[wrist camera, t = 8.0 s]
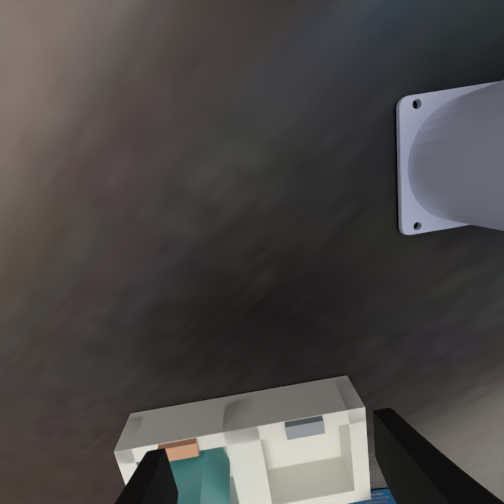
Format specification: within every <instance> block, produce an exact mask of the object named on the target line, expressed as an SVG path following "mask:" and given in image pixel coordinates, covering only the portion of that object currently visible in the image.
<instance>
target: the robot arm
mask: <svg viewBox="0 0 504 504" xmlns="http://www.w3.org/2000/svg"><path fill="white" fill-rule="evenodd" d="M413 101H416V102H417V108H416V109H414V108H413V105H412V104H413ZM396 124H397V169H398V214H399V231H400V232H401V233H403V234H405V235H413V234H419V233H425V232H431V231H437V230H443V229H448V228H454V227H460V226H466V225H476V226H481V227H486V228H491V229H496V230H501V231H504V80H502V81H499V82H492V83H486V84H480V85H473V86H467V87H461V88H454V89H448V90H442V91H435V92H429V93H423V94H416V95H410V96H406V97H404V98H402V99H400V100H399V101H398V103H397V106H396ZM416 222H417V223H418V226H417V227H416V228H415V229H414V227H413V226H414V224H415V223H416ZM373 423H374V441H375V457H376V459H377V462H378V464H379V467H380V469H381V471H382V474H383V476H384V479H385V481H386V483H387V485H388V488H389V490H390V492H391V494H392V496H393V498H394V500H395V502H396V504H504V502H502V501H501V500H500V499H498V498H497V497H496V496H494V495H493V494H492V493H491V492H489V491H488V490H487V489H485V488H484V487H483V486H482V485H480V484H479V483H478V482H476V481H475V480H474V479H473V478H471V477H470V476H469V475H468V474H466V473H465V472H464V471H463V470H462V469H460V468H459V467H458V466H457V465H456V464H454V463H453V462H452V461H451V460H450V459H448V458H447V457H446V456H445V455H444V454H442V453H441V452H440V451H439V450H438V449H436V448H435V447H434V446H433V445H432V444H431V443H430V442H428V441H427V440H426V439H425V438H424V437H423V436H422V435H420V434H419V433H418V432H417V431H416V430H415V429H414V428H413V427H412V426H410V425H409V424H408V423H407V422H406V421H405V420H404V419H403V418H402V417H401V416H399V415H398V414H397V413H396V412H395V411H394V410H393V409H391V408H386V409H380V410H374V411H373ZM177 503H178V489H177V486H176V483H175V479H174V476H173V473H172V469H171V466H170V463H169V459H168V456H167V453H166V449H165V448H162V449H156V450H151V451H147V452H146V453H145V455H144V457H143V458H142V460H141V461H140V463H139V465H138V466H137V468H136V470H135V471H134V473H133V475H132V476H131V478H130V480H129V481H128V483H127V484H126V486H125V488H124V489H123V491H122V493H121V494H120V496H119V497H118V499H117V501H116V502H115V504H177Z"/></svg>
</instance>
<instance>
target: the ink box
mask: <svg viewBox="0 0 504 504" xmlns="http://www.w3.org/2000/svg"><path fill="white" fill-rule="evenodd" d="M370 493H371V499H370V500H364V501H359V502H353V503H348V504H396V502H395V500H394V498H393V496H392V494H391V492H390V490H389V489H380V490H372V491H370Z"/></svg>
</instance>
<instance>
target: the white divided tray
mask: <svg viewBox="0 0 504 504" xmlns="http://www.w3.org/2000/svg"><path fill="white" fill-rule="evenodd" d="M218 447H223V449H224V450H225V452H226V454H227V456H228V458H229V460H230V503H229V504H348V503H353V502H359V501H364V500H370V499H371V493H370V477H369V462H368V446H367V431H366V415H365V406H364V404H363V403H362V401H361V399H360V397H359V396H358V394H357V392H356V390H355V389H354V387H353V385H352V383H351V382H350V380H349V378H348V376H347V375H346V376H340V377H335V378H329V379H323V380H318V381H312V382H306V383H301V384H295V385H289V386H284V387H278V388H272V389H267V390H261V391H255V392H249V393H244V394H238V395H232V396H227V397H221V398H215V399H210V400H204V401H198V402H193V403H187V404H181V405H176V406H170V407H164V408H159V409H153V410H147V411H142V412H136V413H131V414H130V416H129V418H128V421H127V423H126V425H125V428H124V430H123V432H122V434H121V437H120V439H119V441H118V443H117V446H116V448H115V450H114V454H115V457H116V459H117V462H118V465H119V468H120V471H121V473H122V476H123V479H124V482H125V484H127V483H128V481H129V480H130V478H131V476H132V475H133V473H134V471H135V470H136V468H137V466H138V465H139V463H140V461H141V460H142V458H143V457H144V455H145V453H146V452H147V451H151V450H156V449H162V448H165V449H166V453H167V456H168V459H169V461H174V460H180V459H185V458H191V457H197V456H199V452H200V451H201V450H207V449H212V448H218Z"/></svg>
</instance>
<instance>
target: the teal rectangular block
mask: <svg viewBox="0 0 504 504" xmlns="http://www.w3.org/2000/svg"><path fill="white" fill-rule="evenodd" d="M169 463H170V466H171V469H172V473H173V476H174V479H175V483H176V486H177V489H178V503H177V504H229V503H230V460H229V458H228V456H227V454H226V452H225V450H224V449H223V447H218V448H212V449H207V450H201V451H200V452H199V456H197V457H191V458H185V459H180V460H174V461H169Z"/></svg>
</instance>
